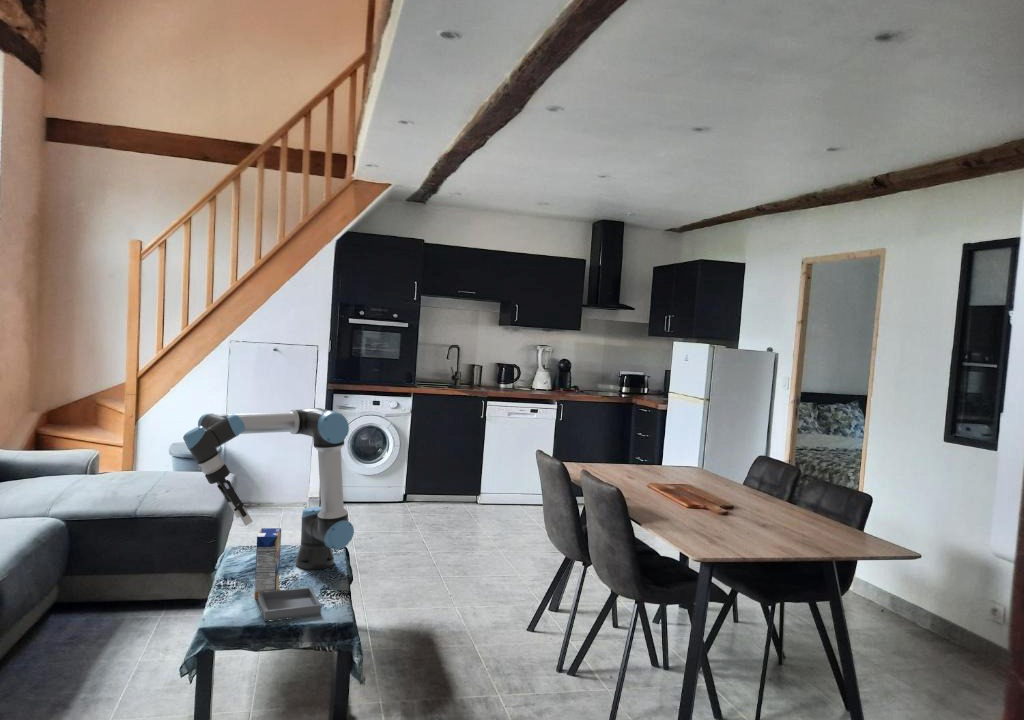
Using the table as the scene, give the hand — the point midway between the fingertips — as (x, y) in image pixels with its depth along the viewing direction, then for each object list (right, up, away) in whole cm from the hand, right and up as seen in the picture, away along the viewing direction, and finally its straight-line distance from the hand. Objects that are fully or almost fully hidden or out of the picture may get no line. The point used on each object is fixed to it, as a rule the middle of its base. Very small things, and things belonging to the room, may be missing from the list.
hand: (244, 519), depth 257 cm
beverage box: (+6, -28, +6) cm, 29 cm away
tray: (+18, -29, -8) cm, 35 cm away
